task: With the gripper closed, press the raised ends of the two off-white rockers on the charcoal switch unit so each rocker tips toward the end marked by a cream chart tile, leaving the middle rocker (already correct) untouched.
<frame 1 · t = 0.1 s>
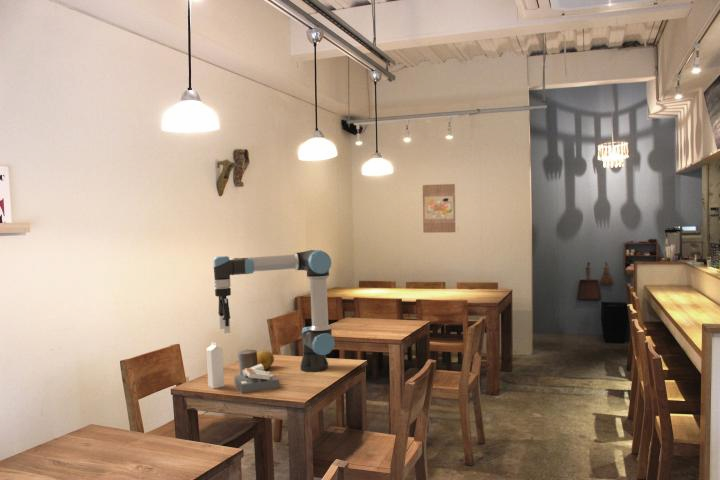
hand: (224, 330, 295), 28 cm above the table, fingers open, 13 cm apart
pillar candle: (248, 377, 313), on the table
potato: (264, 369, 331), on the table
rocker 2: (255, 372, 295), point 7 cm above the table, hinge at -14.0°
rocker 1: (253, 369, 301), point 7 cm above the table, hinge at 14.0°
milk: (216, 386, 298), on the table
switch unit: (256, 385, 295), on the table
rocker 3: (258, 375, 289), point 7 cm above the table, hinge at -14.0°
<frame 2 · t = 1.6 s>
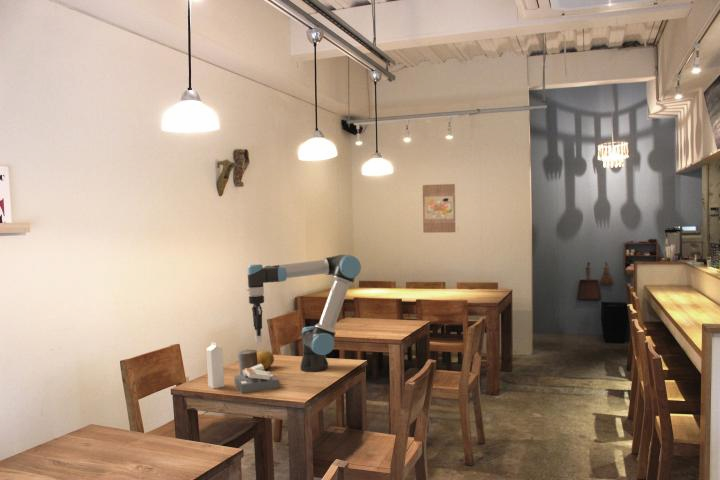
hand: (258, 341, 302), 20 cm above the table, fingers closed
nothing on the table moved.
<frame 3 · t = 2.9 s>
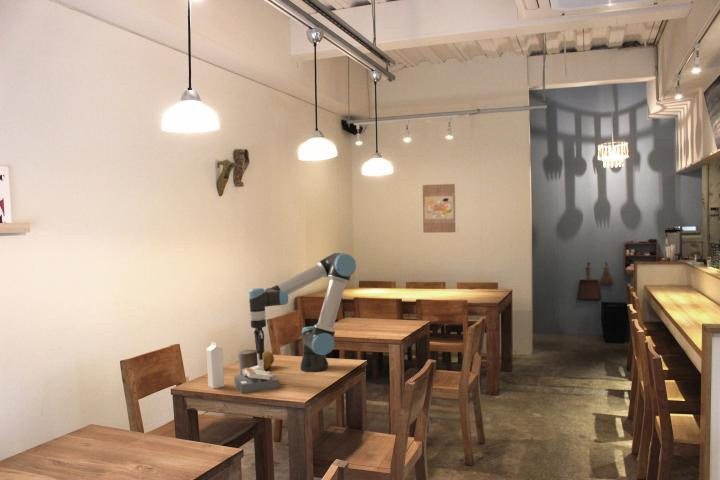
hand: (260, 365, 302), 8 cm above the table, fingers closed
rocker 1: (253, 369, 301), point 7 cm above the table, hinge at 9.2°, touching gripper
everything else where it was.
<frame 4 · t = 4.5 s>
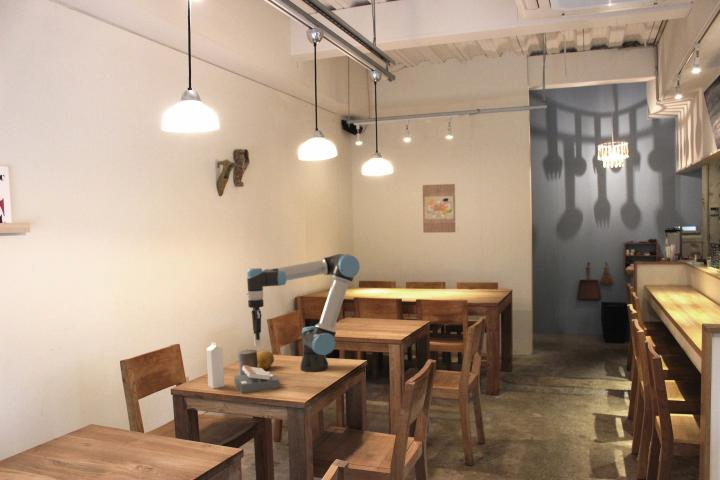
hand: (257, 345, 301), 19 cm above the table, fingers closed
rocker 1: (253, 369, 301), point 7 cm above the table, hinge at -15.4°
everything else where it was.
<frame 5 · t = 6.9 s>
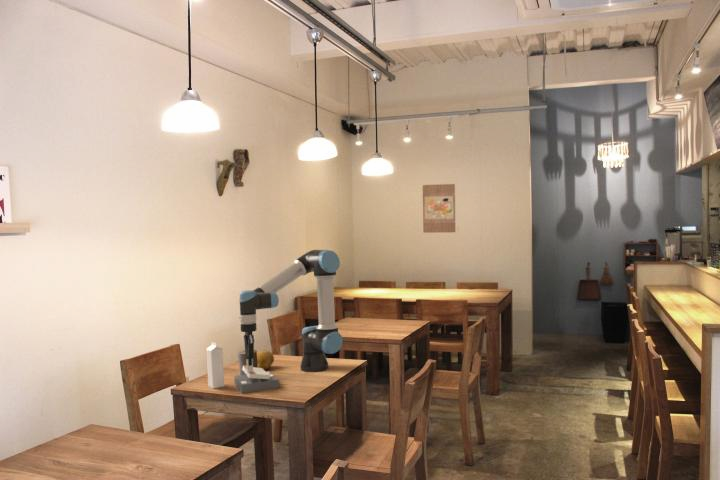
hand: (249, 371, 288), 9 cm above the table, fingers closed
rocker 1: (253, 369, 301), point 7 cm above the table, hinge at -14.7°
rocker 3: (258, 375, 289), point 7 cm above the table, hinge at -10.8°, touching gripper
everything else where it was.
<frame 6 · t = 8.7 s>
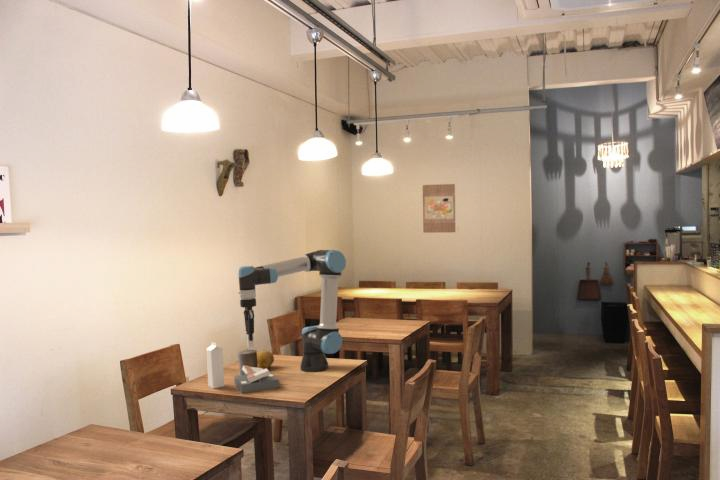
hand: (250, 347, 289), 21 cm above the table, fingers closed
rocker 3: (258, 375, 289), point 7 cm above the table, hinge at 16.0°
everything else where it was.
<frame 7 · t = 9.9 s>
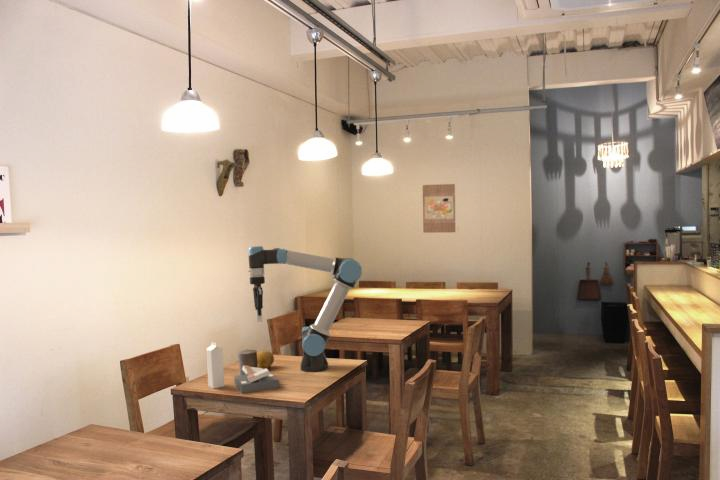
hand: (259, 321, 310), 29 cm above the table, fingers closed
rocker 3: (258, 375, 289), point 7 cm above the table, hinge at 16.4°
everything else where it was.
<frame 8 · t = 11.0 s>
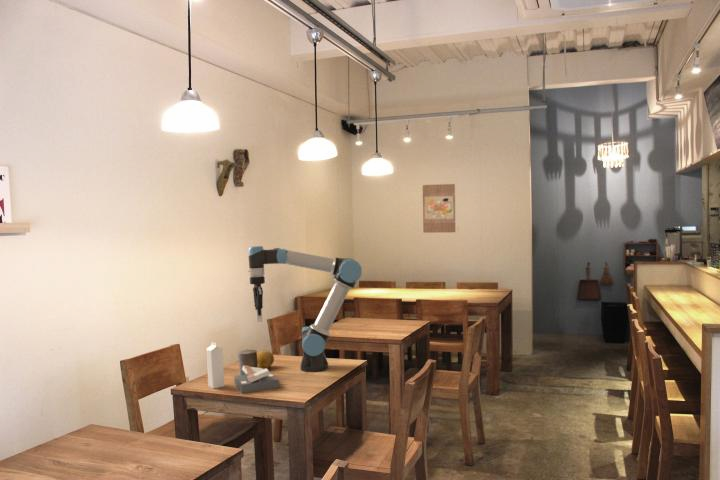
hand: (259, 321, 310), 29 cm above the table, fingers closed
nothing on the table moved.
at the end: rocker 1 at -15° (first picture: +14°); rocker 2 at -14° (first picture: -14°); rocker 3 at +16° (first picture: -14°) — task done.
